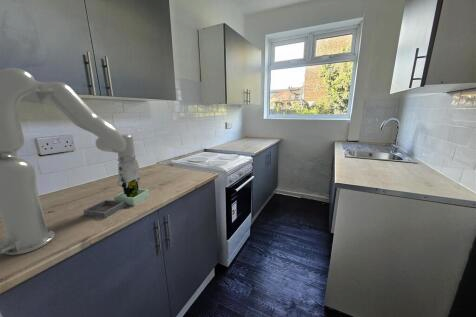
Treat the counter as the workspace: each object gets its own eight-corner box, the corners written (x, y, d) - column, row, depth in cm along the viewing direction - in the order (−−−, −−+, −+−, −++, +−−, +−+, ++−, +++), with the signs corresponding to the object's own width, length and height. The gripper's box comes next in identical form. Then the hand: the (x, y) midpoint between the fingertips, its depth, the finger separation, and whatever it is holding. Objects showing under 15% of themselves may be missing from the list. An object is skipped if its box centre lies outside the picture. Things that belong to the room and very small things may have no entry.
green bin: (134, 205, 98) (133, 198, 97) (115, 203, 101) (114, 196, 100) (149, 196, 109) (148, 189, 108) (132, 194, 112) (131, 188, 111)
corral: (105, 218, 87) (104, 213, 86) (84, 215, 90) (83, 210, 89) (125, 206, 98) (124, 201, 97) (106, 204, 101) (105, 199, 100)
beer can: (124, 197, 104) (121, 176, 101) (133, 194, 108) (131, 173, 106) (130, 199, 101) (127, 177, 98) (140, 196, 106) (137, 174, 103)
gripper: (119, 163, 91) (124, 199, 95) (144, 155, 107) (148, 186, 111) (106, 162, 93) (112, 198, 97) (133, 155, 109) (137, 185, 113)
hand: (131, 191), depth 104 cm, fingers closed on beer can, 5 cm apart
